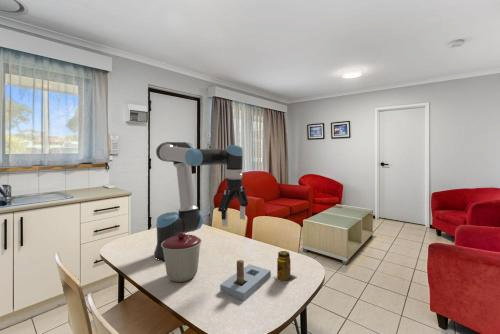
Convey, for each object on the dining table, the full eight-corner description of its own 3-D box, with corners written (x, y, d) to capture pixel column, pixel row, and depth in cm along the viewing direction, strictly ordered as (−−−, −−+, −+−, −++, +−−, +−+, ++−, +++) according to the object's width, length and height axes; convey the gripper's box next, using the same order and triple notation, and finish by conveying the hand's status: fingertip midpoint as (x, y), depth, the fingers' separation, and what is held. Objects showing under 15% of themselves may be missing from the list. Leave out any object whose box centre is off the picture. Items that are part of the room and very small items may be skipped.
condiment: (273, 278, 113) (273, 252, 113) (284, 271, 119) (284, 247, 118) (285, 284, 108) (285, 257, 107) (297, 277, 114) (297, 252, 113)
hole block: (220, 291, 103) (220, 284, 102) (249, 270, 121) (249, 264, 121) (243, 300, 96) (243, 293, 96) (270, 276, 114) (270, 270, 114)
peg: (235, 289, 104) (235, 262, 103) (239, 286, 106) (239, 259, 106) (241, 291, 102) (241, 263, 101) (245, 288, 105) (245, 261, 104)
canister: (155, 286, 106) (153, 239, 105) (170, 267, 124) (169, 226, 123) (196, 287, 106) (195, 239, 104) (205, 267, 124) (205, 226, 122)
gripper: (223, 181, 103) (222, 231, 105) (255, 176, 124) (254, 217, 125) (210, 180, 107) (210, 227, 109) (243, 175, 128) (243, 215, 130)
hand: (234, 222), depth 117 cm, fingers open, 13 cm apart
